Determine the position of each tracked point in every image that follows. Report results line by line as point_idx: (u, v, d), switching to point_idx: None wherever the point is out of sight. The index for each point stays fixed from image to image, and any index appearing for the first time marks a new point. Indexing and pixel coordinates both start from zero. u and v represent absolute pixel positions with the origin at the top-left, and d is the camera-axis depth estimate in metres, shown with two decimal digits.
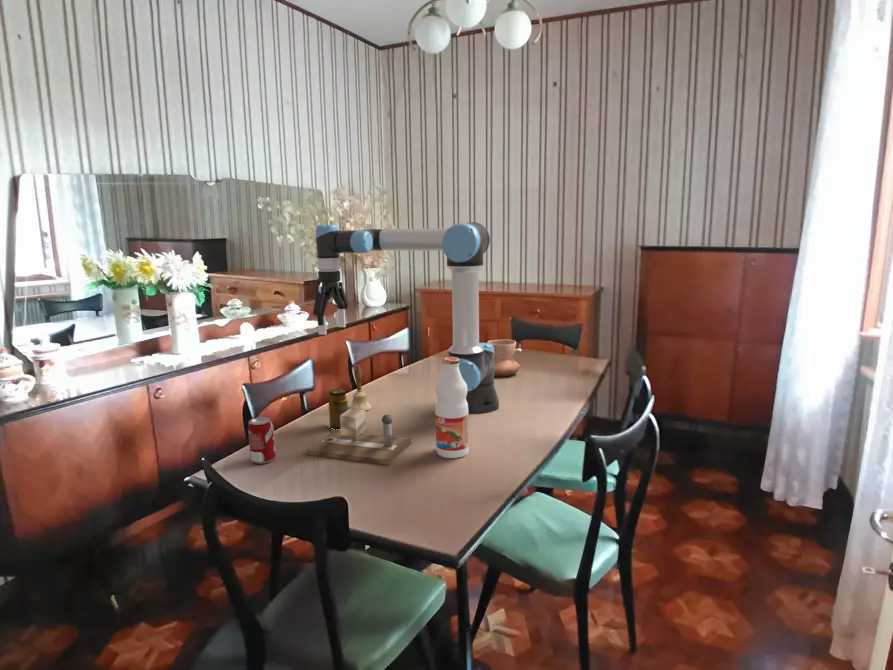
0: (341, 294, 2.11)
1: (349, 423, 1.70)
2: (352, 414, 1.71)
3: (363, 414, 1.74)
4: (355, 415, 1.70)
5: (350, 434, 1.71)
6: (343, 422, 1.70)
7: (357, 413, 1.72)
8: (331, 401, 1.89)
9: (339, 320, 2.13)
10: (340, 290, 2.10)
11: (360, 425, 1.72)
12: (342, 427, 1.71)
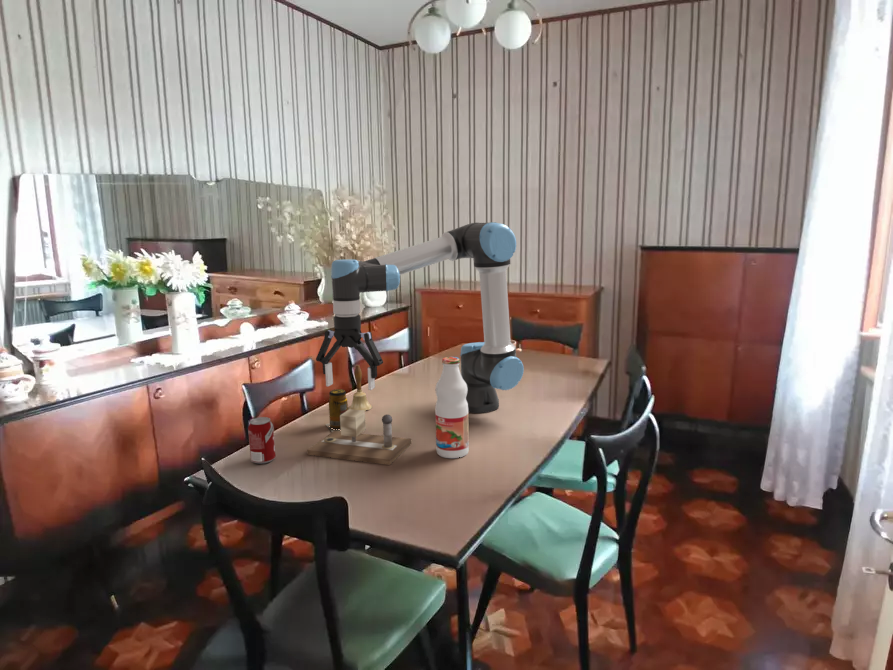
0: None
1: (349, 423, 1.70)
2: (352, 414, 1.71)
3: (363, 414, 1.74)
4: (355, 415, 1.70)
5: (350, 434, 1.71)
6: (343, 422, 1.70)
7: (357, 413, 1.72)
8: (332, 401, 1.89)
9: None
10: None
11: (360, 425, 1.72)
12: (342, 427, 1.71)
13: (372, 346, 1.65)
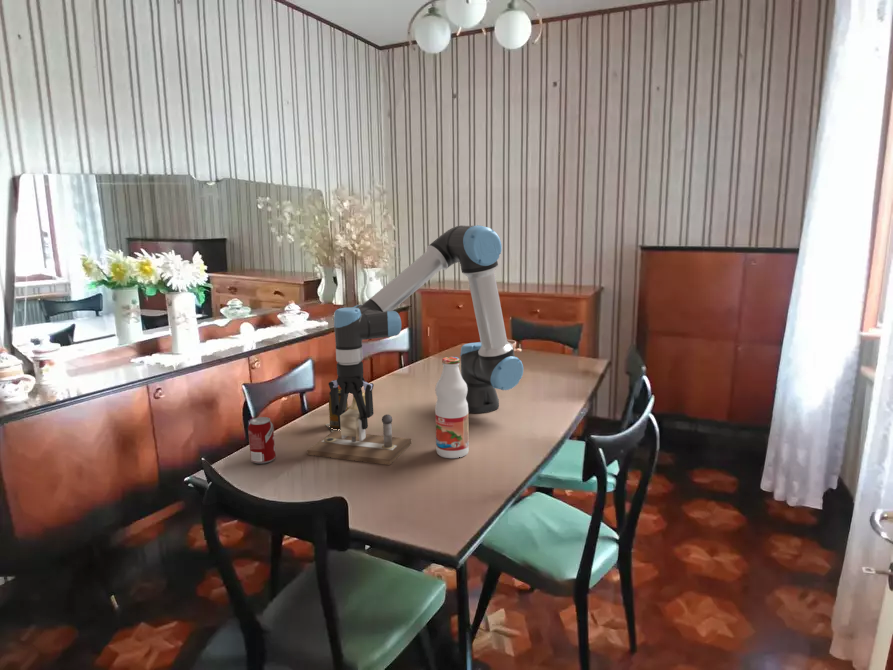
0: None
1: (349, 423, 1.70)
2: (352, 414, 1.71)
3: None
4: (355, 415, 1.70)
5: (350, 434, 1.71)
6: (343, 422, 1.70)
7: (357, 413, 1.72)
8: None
9: None
10: None
11: None
12: (342, 427, 1.71)
13: (369, 398, 1.69)
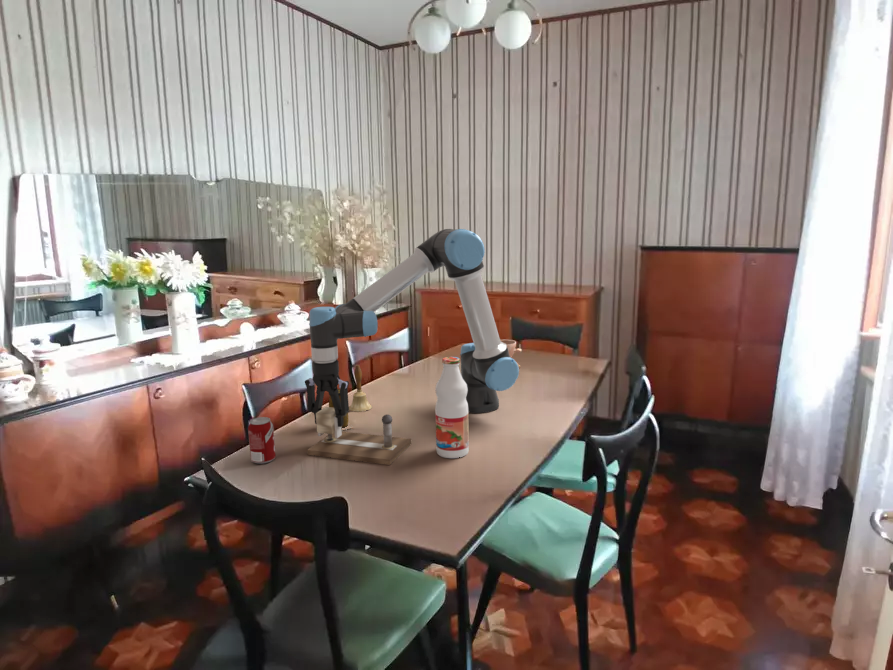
0: None
1: (325, 420, 1.72)
2: (328, 412, 1.74)
3: None
4: (331, 413, 1.73)
5: (326, 431, 1.73)
6: (319, 419, 1.73)
7: (333, 411, 1.74)
8: None
9: None
10: None
11: None
12: (318, 424, 1.73)
13: (344, 396, 1.71)
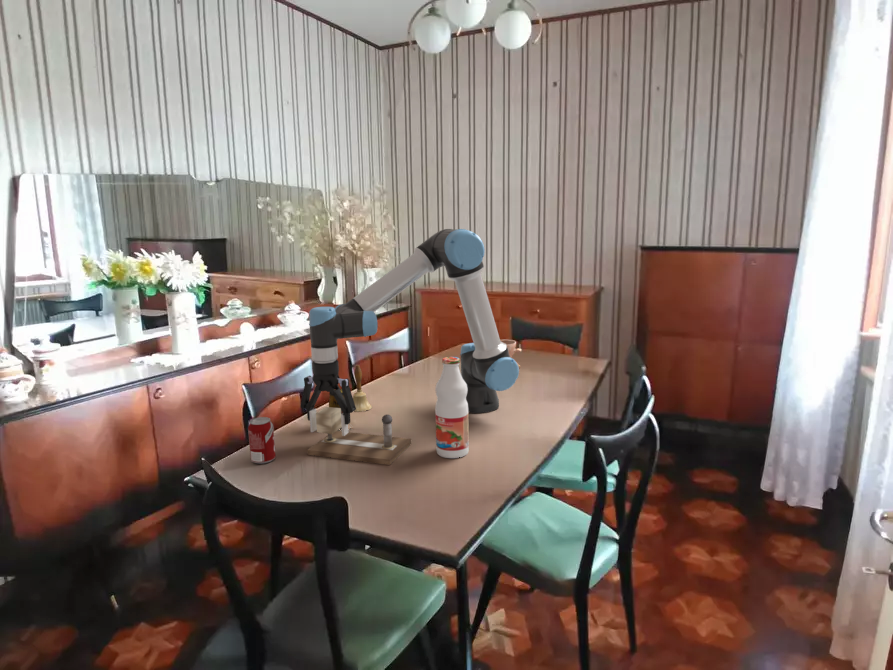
0: None
1: (325, 420, 1.72)
2: (328, 412, 1.74)
3: (339, 412, 1.76)
4: (331, 413, 1.73)
5: (326, 431, 1.73)
6: (319, 419, 1.73)
7: (333, 411, 1.74)
8: (332, 401, 1.89)
9: None
10: None
11: (335, 423, 1.74)
12: (318, 424, 1.73)
13: (348, 393, 1.71)
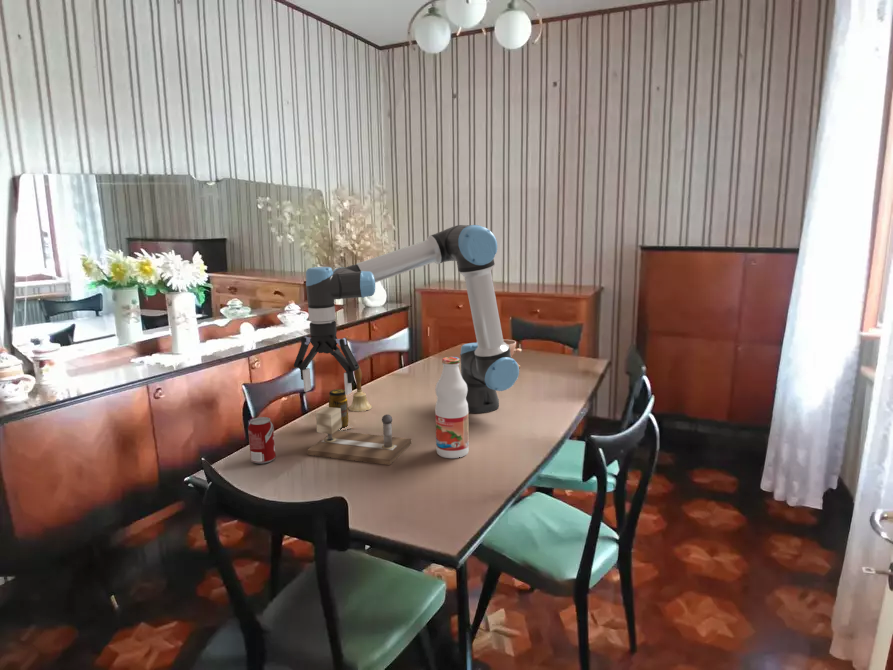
0: None
1: (325, 420, 1.72)
2: (328, 412, 1.74)
3: (339, 412, 1.76)
4: (331, 413, 1.73)
5: (326, 431, 1.73)
6: (319, 419, 1.73)
7: (333, 411, 1.74)
8: (332, 401, 1.89)
9: None
10: None
11: (335, 423, 1.74)
12: (318, 424, 1.73)
13: (348, 352, 1.68)
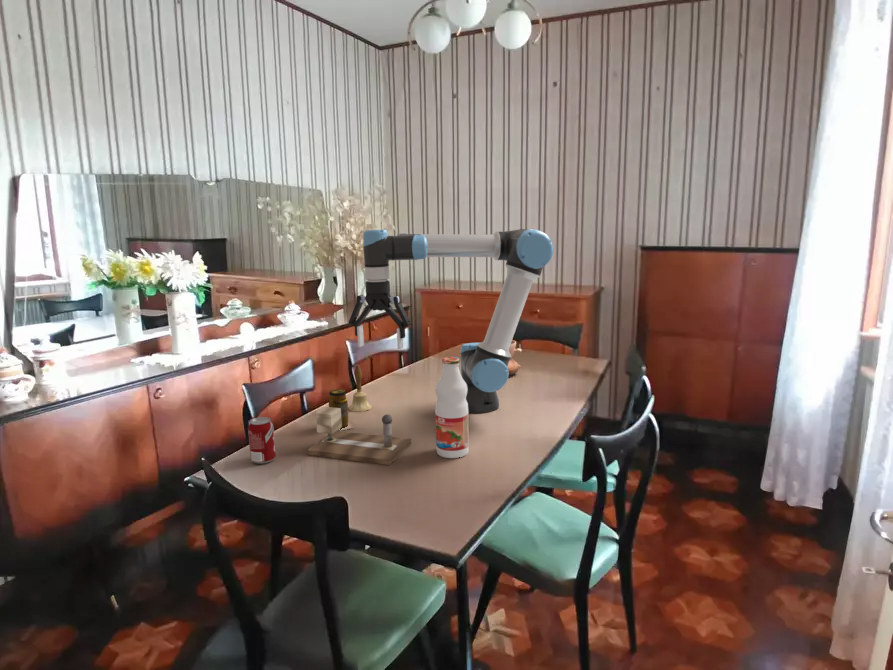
0: None
1: (325, 420, 1.72)
2: (328, 412, 1.74)
3: (339, 412, 1.76)
4: (331, 413, 1.73)
5: (326, 431, 1.73)
6: (319, 419, 1.73)
7: (333, 411, 1.74)
8: (331, 401, 1.89)
9: None
10: None
11: (335, 423, 1.74)
12: (318, 424, 1.73)
13: (401, 308, 1.81)
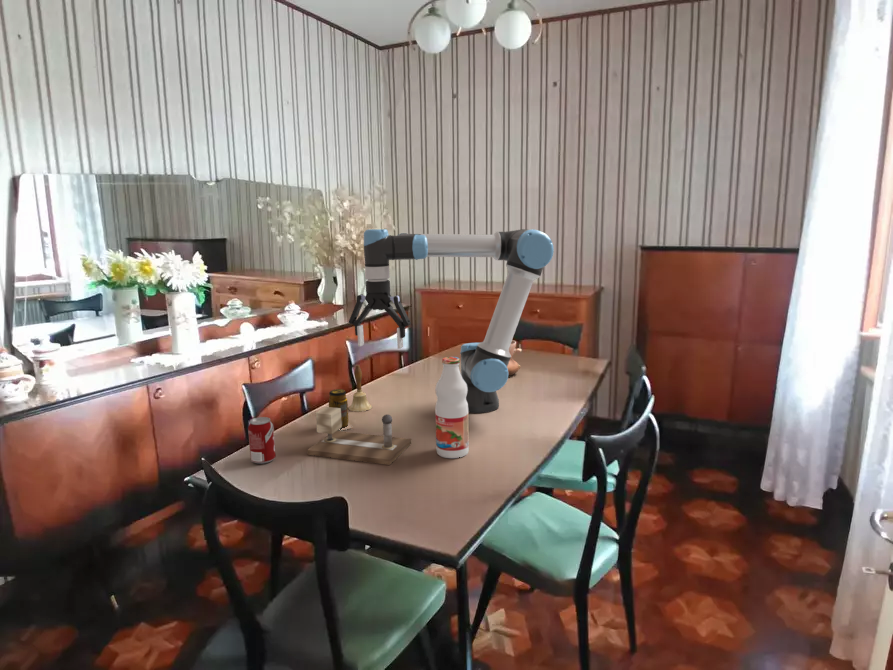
0: None
1: (325, 420, 1.72)
2: (328, 412, 1.74)
3: (339, 412, 1.76)
4: (331, 413, 1.73)
5: (326, 431, 1.73)
6: (319, 419, 1.73)
7: (333, 411, 1.74)
8: (332, 401, 1.89)
9: None
10: None
11: (335, 423, 1.74)
12: (318, 424, 1.73)
13: (401, 308, 1.81)
